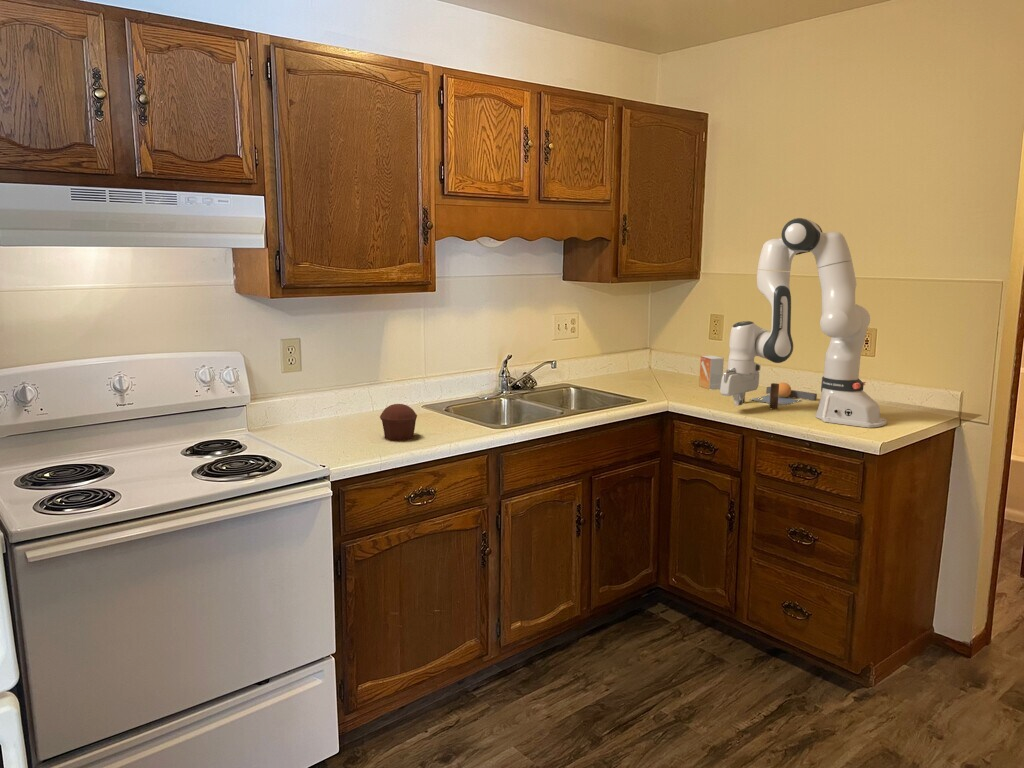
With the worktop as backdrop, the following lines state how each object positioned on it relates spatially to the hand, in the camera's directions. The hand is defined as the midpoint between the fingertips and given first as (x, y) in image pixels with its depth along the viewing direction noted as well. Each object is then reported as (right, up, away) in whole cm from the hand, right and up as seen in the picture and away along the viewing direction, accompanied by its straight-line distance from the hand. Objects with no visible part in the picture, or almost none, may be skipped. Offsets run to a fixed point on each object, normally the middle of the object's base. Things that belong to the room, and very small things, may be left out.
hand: (738, 405), depth 279 cm
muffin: (-116, -9, -42) cm, 124 cm away
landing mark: (+20, +1, +19) cm, 27 cm away
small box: (+1, +6, +45) cm, 45 cm away
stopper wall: (+28, +3, +27) cm, 39 cm away
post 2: (+14, -1, +4) cm, 15 cm away
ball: (+24, +5, +24) cm, 34 cm away
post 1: (+5, 0, +14) cm, 15 cm away
